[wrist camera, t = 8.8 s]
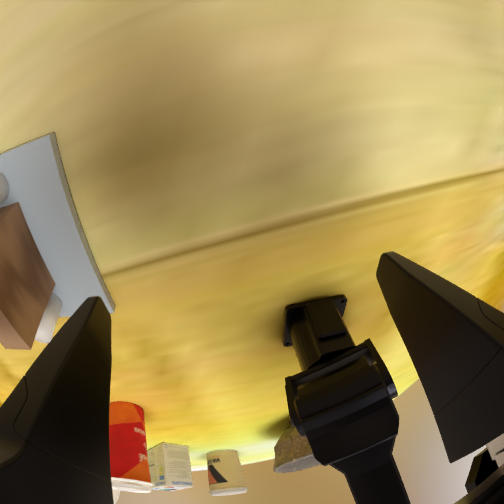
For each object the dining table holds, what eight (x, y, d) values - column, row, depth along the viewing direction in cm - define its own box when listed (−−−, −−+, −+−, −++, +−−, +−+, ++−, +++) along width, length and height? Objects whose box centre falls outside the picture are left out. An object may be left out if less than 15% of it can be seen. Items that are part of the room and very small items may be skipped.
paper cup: (143, 419, 40) (147, 494, 29) (100, 410, 36) (98, 487, 25) (155, 404, 36) (160, 491, 25) (106, 393, 33) (103, 483, 22)
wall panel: (115, 306, 24) (107, 348, 20) (28, 313, 22) (15, 349, 19) (54, 132, 14) (18, 154, 10) (-39, 173, 13) (-72, 201, 9)
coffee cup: (214, 448, 55) (221, 492, 45) (247, 448, 59) (255, 490, 50) (197, 455, 59) (203, 496, 49) (228, 457, 63) (235, 494, 53)
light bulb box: (170, 454, 56) (174, 491, 47) (145, 450, 52) (148, 489, 44) (189, 445, 52) (194, 487, 43) (161, 441, 48) (165, 486, 40)
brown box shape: (55, 284, 20) (31, 349, 15) (31, 287, 20) (5, 348, 14) (18, 201, 15) (-30, 260, 10) (-7, 210, 15) (-53, 265, 9)
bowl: (301, 436, 60) (311, 470, 52) (242, 431, 49) (251, 475, 41) (372, 399, 53) (388, 436, 45) (327, 388, 43) (346, 440, 35)
